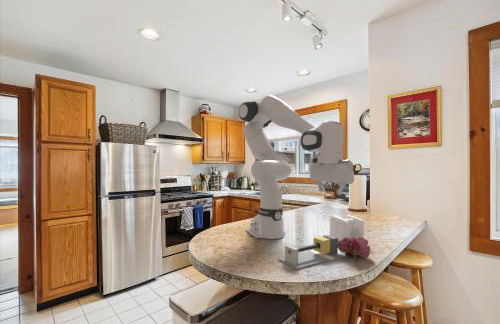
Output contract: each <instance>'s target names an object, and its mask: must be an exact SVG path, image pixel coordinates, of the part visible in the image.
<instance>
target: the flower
mask: <svg viewBox="0 0 500 324" xmlns="http://www.w3.org/2000/svg"><path fill="white" fill-rule="evenodd" d="M338 251H340V252H342V253H344V254H345V255H346V254H348V253H349V254H350V255H351V256H353V257H354V259H355V261H357V259H356V257H357V255H358V256H360V258H363V259H367V258H369V257H370V255H371V246H370V245H369V241H368V239H366V238H365V237H364V238H363V237H359V238H352V239H349V238H347V237H346V238H344V239H342V241H338Z"/></svg>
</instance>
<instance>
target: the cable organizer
mask: <svg viewBox="0 0 500 324" xmlns="http://www.w3.org/2000/svg"><path fill="white" fill-rule="evenodd" d="M329 235H330V236H334V237H337V238H338V242H339V241H342V239H344V238H346V237H347V238H349V239H352V238H359V237H363V238H364V239H365V221H364V220H363V219H362V218H360V217H357V216H353V215H351V214H345V215H344V218H343V217H339V216H337V215H330V216H329Z"/></svg>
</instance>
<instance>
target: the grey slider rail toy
mask: <svg viewBox="0 0 500 324" xmlns="http://www.w3.org/2000/svg"><path fill="white" fill-rule="evenodd" d="M322 237H324V238H327V239H330V252H329V253H325V254H322V253H320V252H317V251H315V250H313V249H315V248H319V247H320V243H317V244H314V243H313V244H309V245H304V246H299V247H294V246H293V245H290V244H287V245H285V246H284V256H283V257H279V258H278V261H280V262H281V263H283V264H285V265H287V266H288V267H290V268H292V269H294V270H295V271H298V270H302V269H305V268H309V267H313V266H316V265H320V264H323V263H326V262H330V261H334V260H338V259H341V258H342V259H343V258H344V256H345V255H344V254H341V253H339V252H338V251H339V249H338V242H339V241H338V238H337V237H334V236H330V234H326V235H325V234H324V235H323V236H322Z"/></svg>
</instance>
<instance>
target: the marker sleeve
mask: <svg viewBox="0 0 500 324" xmlns="http://www.w3.org/2000/svg"><path fill="white" fill-rule="evenodd" d="M317 243H320V247H319V248H315V249H312V251H313V250H315V251H317V252H320V253H322V254H325V253H329V252H330V239H327V238H324V237H323V236H321V235H320V236H316V237H315V236H314V237H313V244H317Z"/></svg>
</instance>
